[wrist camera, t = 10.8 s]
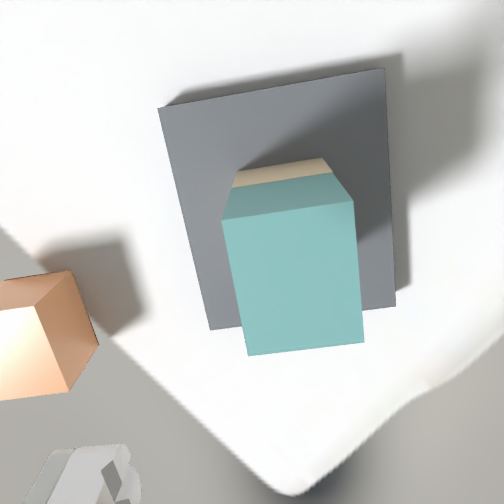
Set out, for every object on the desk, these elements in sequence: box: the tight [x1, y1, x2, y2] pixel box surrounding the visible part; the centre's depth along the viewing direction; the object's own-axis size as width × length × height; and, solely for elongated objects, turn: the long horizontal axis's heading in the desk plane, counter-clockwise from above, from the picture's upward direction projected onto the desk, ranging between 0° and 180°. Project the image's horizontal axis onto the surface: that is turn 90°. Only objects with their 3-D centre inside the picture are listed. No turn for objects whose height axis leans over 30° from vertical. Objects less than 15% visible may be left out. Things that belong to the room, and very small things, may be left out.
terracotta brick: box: [0, 270, 99, 401], centre depth 27 cm, size 6×5×5 cm
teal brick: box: [221, 173, 364, 356], centre depth 19 cm, size 6×5×5 cm
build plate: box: [157, 68, 396, 330], centre depth 24 cm, size 14×12×6 cm
